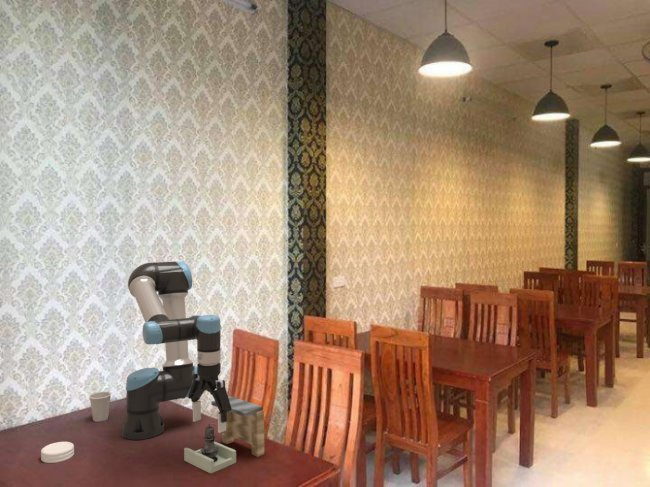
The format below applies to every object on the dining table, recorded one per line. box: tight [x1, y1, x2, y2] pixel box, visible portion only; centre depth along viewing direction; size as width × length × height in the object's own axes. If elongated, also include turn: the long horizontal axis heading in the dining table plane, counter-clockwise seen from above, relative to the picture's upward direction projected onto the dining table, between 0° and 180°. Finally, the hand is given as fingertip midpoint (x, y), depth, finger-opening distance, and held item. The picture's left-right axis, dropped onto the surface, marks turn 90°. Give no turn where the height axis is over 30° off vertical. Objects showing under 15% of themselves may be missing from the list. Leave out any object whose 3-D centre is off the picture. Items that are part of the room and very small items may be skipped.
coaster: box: [40, 441, 75, 464], centre depth 176 cm, size 10×10×4 cm
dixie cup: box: [88, 391, 112, 423], centre depth 210 cm, size 8×8×10 cm
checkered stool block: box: [211, 395, 265, 457], centre depth 180 cm, size 19×8×16 cm, turn 49°
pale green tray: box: [183, 440, 237, 475], centre depth 171 cm, size 14×10×4 cm
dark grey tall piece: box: [200, 423, 219, 462], centre depth 171 cm, size 6×6×12 cm
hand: (209, 425), depth 171 cm, fingers open, 13 cm apart
